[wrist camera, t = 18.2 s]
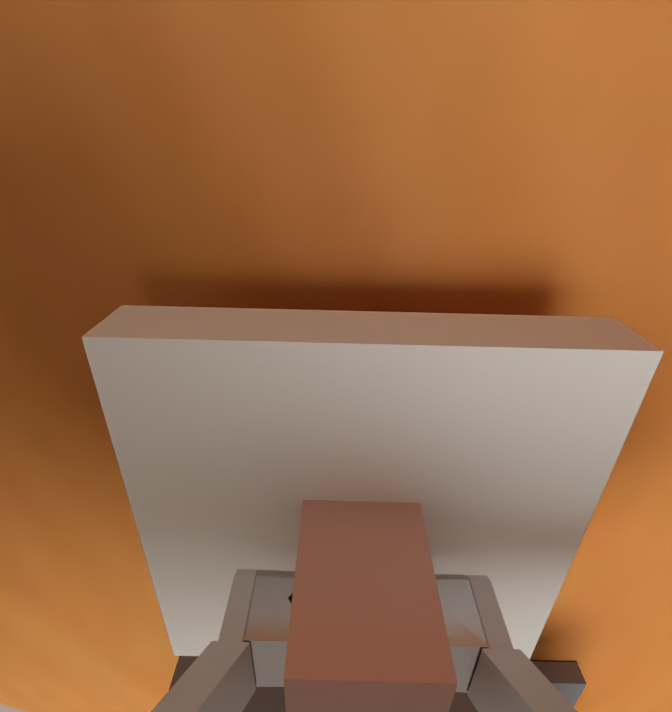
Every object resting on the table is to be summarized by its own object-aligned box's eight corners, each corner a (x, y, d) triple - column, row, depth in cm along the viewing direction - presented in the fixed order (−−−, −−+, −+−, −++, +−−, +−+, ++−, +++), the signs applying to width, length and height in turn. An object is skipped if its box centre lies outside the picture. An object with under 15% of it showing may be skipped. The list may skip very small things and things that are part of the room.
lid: (191, 603, 16) (119, 826, 11) (121, 305, 10) (-99, 476, 5) (508, 611, 16) (587, 839, 11) (613, 317, 10) (884, 502, 5)
